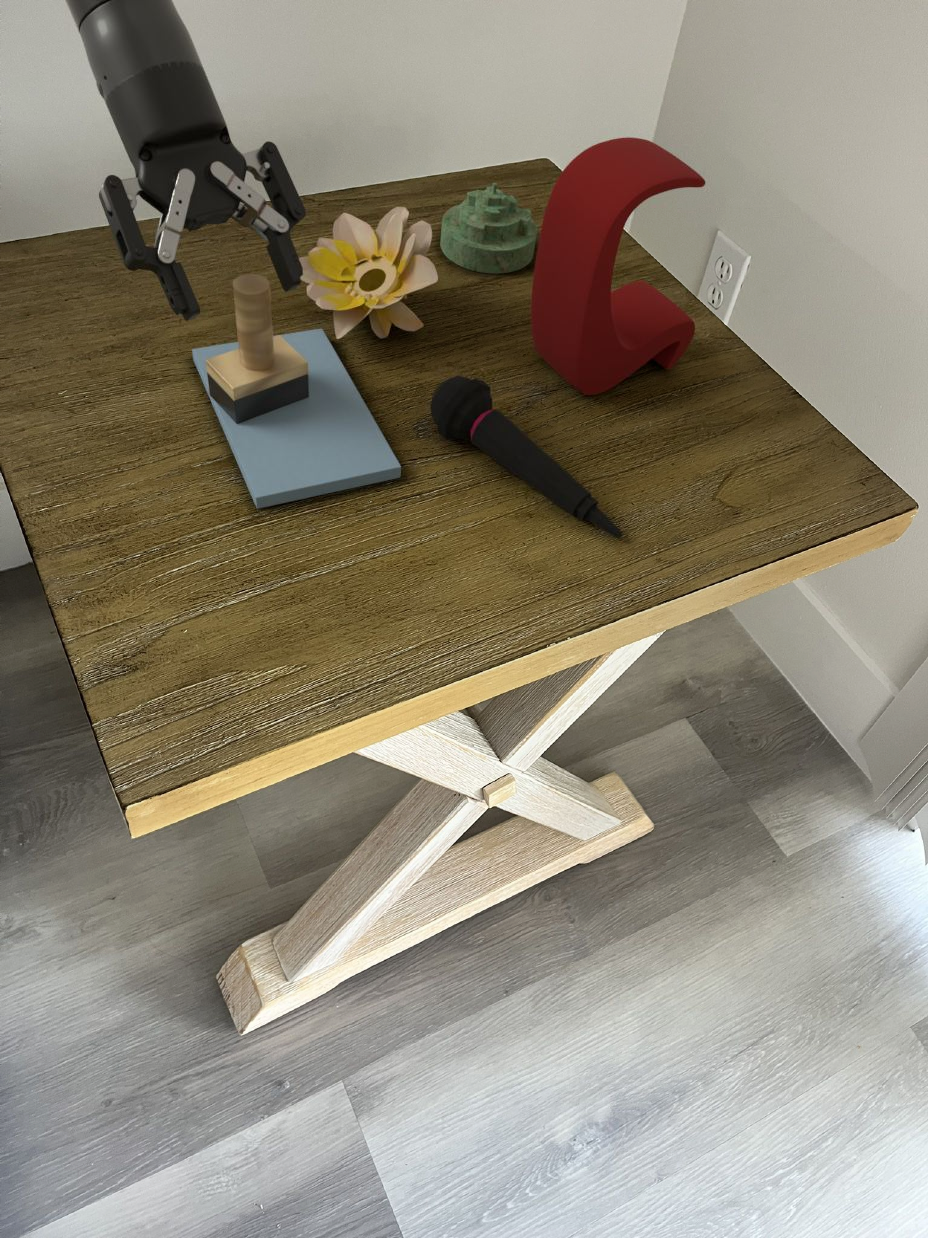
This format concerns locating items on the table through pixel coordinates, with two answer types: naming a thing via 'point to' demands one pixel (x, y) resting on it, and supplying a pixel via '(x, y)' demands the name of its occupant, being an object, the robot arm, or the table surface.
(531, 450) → the microphone
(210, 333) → the table surface
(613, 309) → the red curved piece
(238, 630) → the table surface
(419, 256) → the decorative flower
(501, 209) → the decorative artifact
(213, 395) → the wooden stamp
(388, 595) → the table surface
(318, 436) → the mat
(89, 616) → the table surface
